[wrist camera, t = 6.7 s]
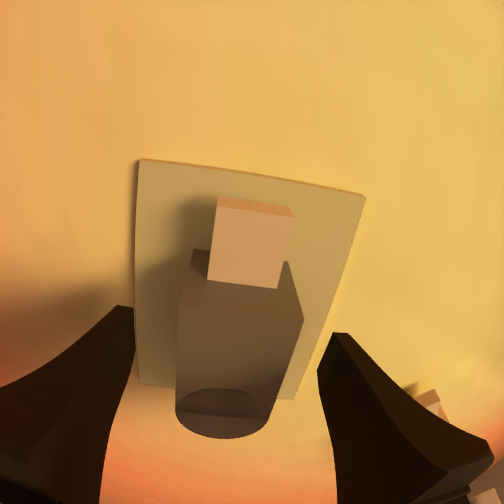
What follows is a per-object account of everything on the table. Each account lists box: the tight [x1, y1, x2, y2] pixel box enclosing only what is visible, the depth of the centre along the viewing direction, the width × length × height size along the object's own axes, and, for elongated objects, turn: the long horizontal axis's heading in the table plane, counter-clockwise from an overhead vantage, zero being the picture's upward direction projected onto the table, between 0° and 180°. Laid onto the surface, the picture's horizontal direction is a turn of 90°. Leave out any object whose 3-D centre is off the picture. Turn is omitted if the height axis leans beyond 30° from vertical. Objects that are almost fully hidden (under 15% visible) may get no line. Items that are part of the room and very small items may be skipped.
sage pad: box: [135, 159, 366, 400], centre depth 13 cm, size 11×8×1 cm
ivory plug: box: [413, 389, 449, 423], centre depth 17 cm, size 9×4×4 cm, turn 20°
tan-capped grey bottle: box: [175, 196, 304, 439], centre depth 11 cm, size 9×4×4 cm, turn 170°
